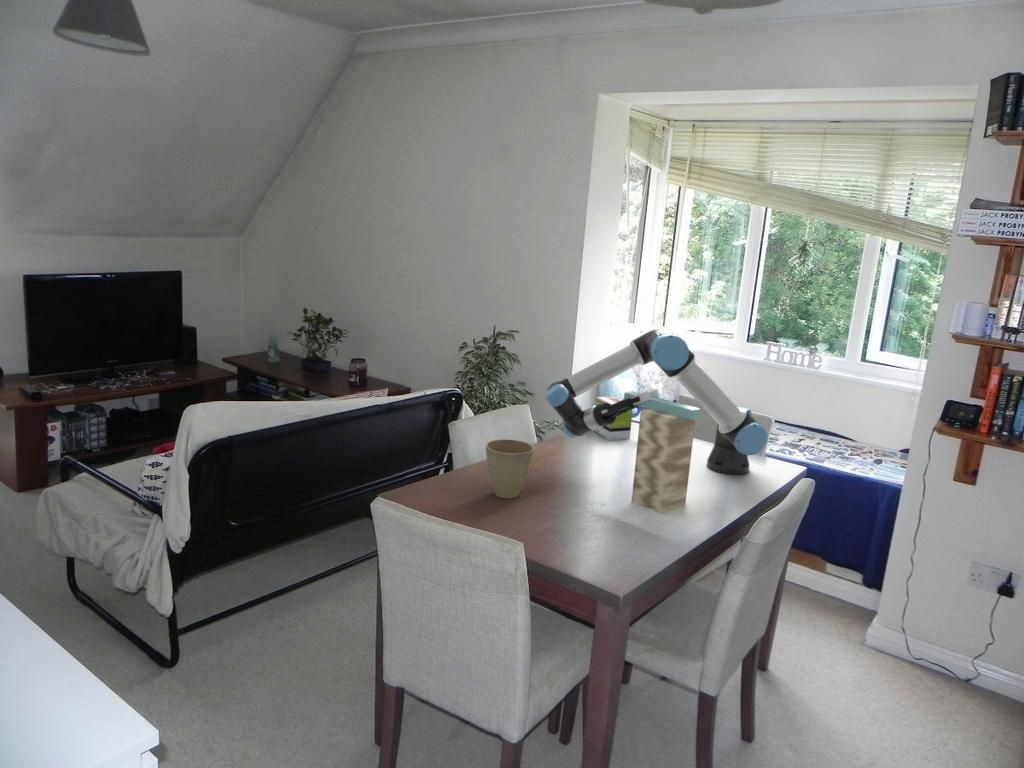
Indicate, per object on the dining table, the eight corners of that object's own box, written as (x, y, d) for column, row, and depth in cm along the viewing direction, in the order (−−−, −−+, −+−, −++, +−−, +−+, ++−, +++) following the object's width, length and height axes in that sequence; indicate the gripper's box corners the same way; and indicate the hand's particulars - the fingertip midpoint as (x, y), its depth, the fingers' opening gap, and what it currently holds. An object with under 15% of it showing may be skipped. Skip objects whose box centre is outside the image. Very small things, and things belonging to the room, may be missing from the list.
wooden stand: (631, 501, 248) (640, 409, 242) (654, 494, 256) (664, 405, 250) (662, 513, 239) (672, 418, 233) (685, 505, 247) (696, 413, 241)
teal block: (623, 401, 251) (624, 392, 251) (631, 400, 254) (632, 391, 253) (692, 420, 233) (693, 410, 232) (699, 418, 236) (700, 408, 235)
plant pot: (473, 492, 247) (475, 444, 243) (505, 483, 257) (508, 436, 254) (507, 506, 237) (510, 456, 233) (539, 496, 248) (543, 447, 244)
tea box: (591, 430, 329) (594, 396, 326) (612, 429, 333) (615, 395, 330) (609, 440, 316) (612, 405, 313) (630, 439, 320) (634, 404, 317)
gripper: (620, 423, 267) (673, 402, 250) (586, 430, 255) (640, 408, 239) (613, 402, 268) (665, 380, 251) (579, 408, 257) (632, 385, 240)
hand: (653, 394), depth 245 cm, fingers closed on teal block, 4 cm apart
